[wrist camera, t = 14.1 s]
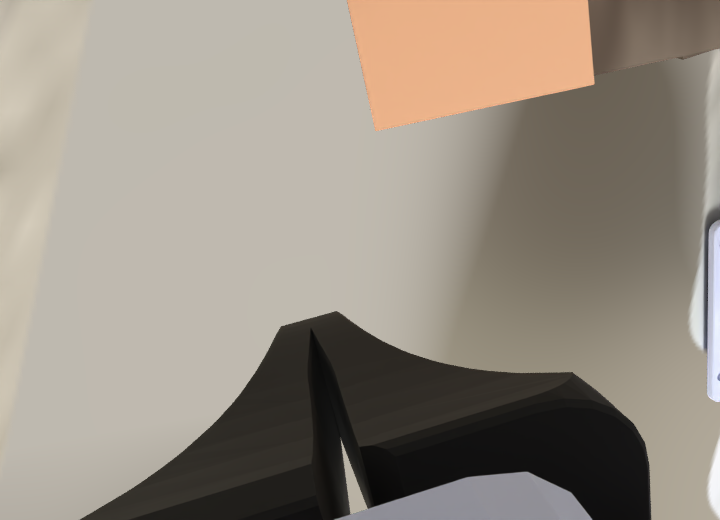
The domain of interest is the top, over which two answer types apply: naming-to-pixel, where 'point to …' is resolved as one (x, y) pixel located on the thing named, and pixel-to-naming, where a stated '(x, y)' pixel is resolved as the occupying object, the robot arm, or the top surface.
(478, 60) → the peach block
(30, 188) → the top surface
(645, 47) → the domino block
